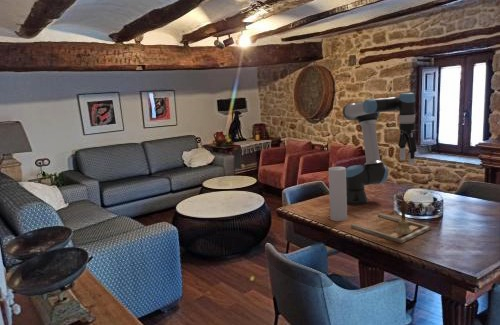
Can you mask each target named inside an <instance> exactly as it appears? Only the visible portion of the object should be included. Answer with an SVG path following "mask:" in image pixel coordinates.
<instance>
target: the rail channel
mask: <svg viewBox="0 0 500 325" xmlns="http://www.w3.org/2000/svg"><path fill="white" fill-rule="evenodd" d="M377 216H378V217H379V218H383V219H387V220H390V221H393V222H394V221H395V222H398V223H399V221H400V220H401V219H402V218H400V217H395V216H392V215H388V214H385V213H380V212H379V213H378V215H377ZM406 220H407V221H408V224H409V226H411V225H414V226H418V227H419V228H420V229H419V228H418V230H417V229H416V230H414V231H413V232H412V233H411V234H406V235H405V236H403V237H398V238H397V237H394V236H391V234H387V233H384V232H381V231H377V230H375V229H371V228H370V227H369V228H368V227H365V226H361V225H358V224H355V223H351V224H350V227H351V228H353V229H356V230H359V231H362V232H365V233H368V234H372V235H373V236H374V235H375V236H376V237H377V236H378V237H381V238H385V239H387V240H390V241H393V242H396V243H400V244H403V243H405V242H407V241H410V240H411V239H413V238H415V237H418V236H420V235H421V234H423V233H425V232H428V231H430V230H431V225H426V224H422V223H418V222H415V221H411V220H408V219H406Z"/></svg>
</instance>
